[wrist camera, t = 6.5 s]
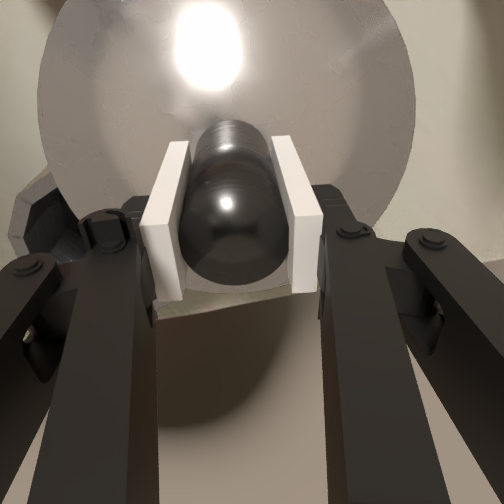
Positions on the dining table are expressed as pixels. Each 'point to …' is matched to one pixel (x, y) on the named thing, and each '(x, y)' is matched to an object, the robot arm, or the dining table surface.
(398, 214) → the dining table surface
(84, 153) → the lid
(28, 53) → the dining table surface
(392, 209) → the dining table surface
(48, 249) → the pot
